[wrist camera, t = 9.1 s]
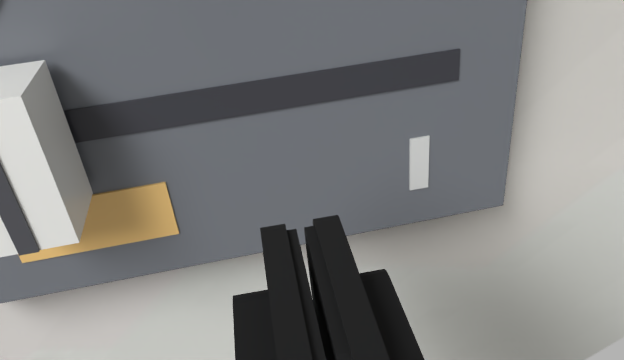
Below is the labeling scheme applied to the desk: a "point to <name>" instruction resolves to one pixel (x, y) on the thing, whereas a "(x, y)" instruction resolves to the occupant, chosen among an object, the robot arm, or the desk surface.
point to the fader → (37, 165)
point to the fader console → (264, 121)
